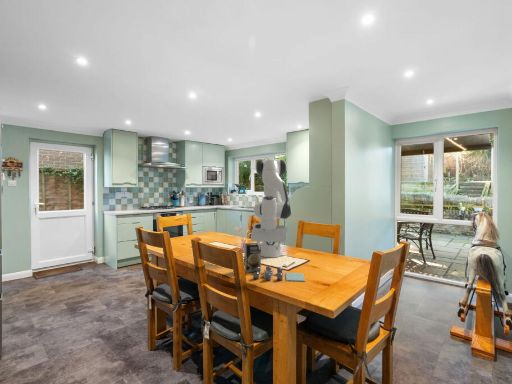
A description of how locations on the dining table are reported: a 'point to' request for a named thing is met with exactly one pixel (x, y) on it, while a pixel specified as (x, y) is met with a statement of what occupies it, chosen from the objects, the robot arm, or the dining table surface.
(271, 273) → the grey hexagonal block
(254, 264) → the coffee box
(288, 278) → the board
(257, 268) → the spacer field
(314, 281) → the dining table surface
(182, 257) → the dining table surface
